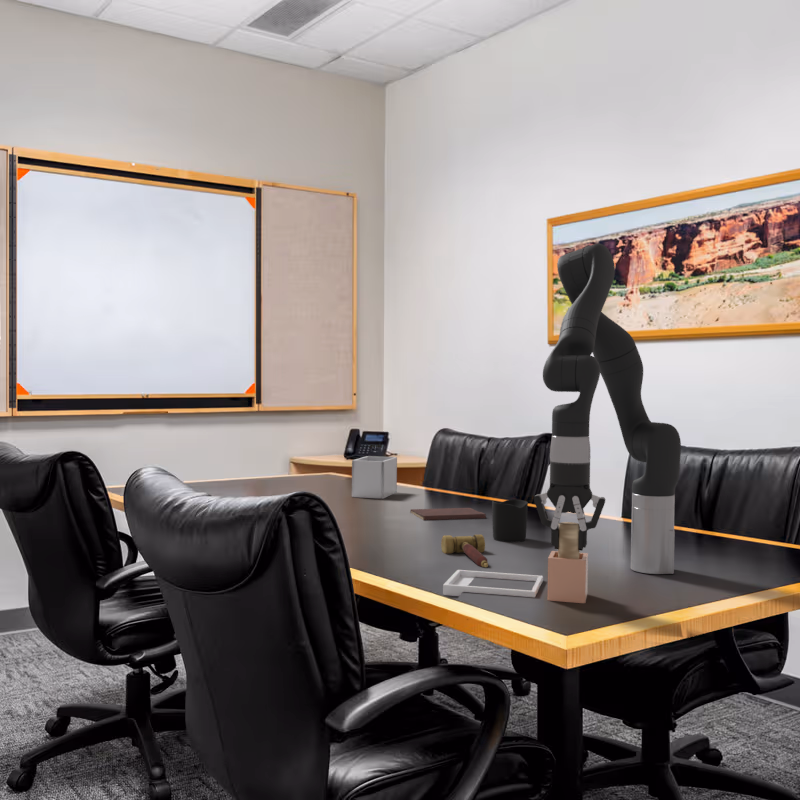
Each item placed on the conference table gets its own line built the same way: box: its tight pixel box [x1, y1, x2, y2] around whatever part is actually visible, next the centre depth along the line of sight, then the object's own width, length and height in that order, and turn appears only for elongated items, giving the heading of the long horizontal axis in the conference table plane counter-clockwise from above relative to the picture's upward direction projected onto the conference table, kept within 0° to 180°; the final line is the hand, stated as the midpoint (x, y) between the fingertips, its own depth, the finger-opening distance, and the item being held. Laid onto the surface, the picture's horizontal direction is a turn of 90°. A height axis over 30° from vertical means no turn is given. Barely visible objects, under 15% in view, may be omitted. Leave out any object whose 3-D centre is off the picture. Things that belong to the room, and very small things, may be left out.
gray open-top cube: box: [351, 455, 398, 499], centre depth 313 cm, size 12×18×13 cm, turn 165°
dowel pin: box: [557, 521, 580, 559], centre depth 165 cm, size 4×4×14 cm
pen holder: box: [491, 499, 529, 543], centre depth 229 cm, size 9×9×10 cm
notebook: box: [409, 507, 487, 521], centre depth 268 cm, size 15×20×2 cm
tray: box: [442, 569, 544, 598], centre depth 174 cm, size 18×14×2 cm
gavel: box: [440, 534, 489, 568], centre depth 204 cm, size 21×5×10 cm
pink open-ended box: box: [546, 550, 589, 604], centre depth 165 cm, size 7×7×9 cm
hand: (568, 548), depth 165 cm, fingers closed on dowel pin, 4 cm apart
